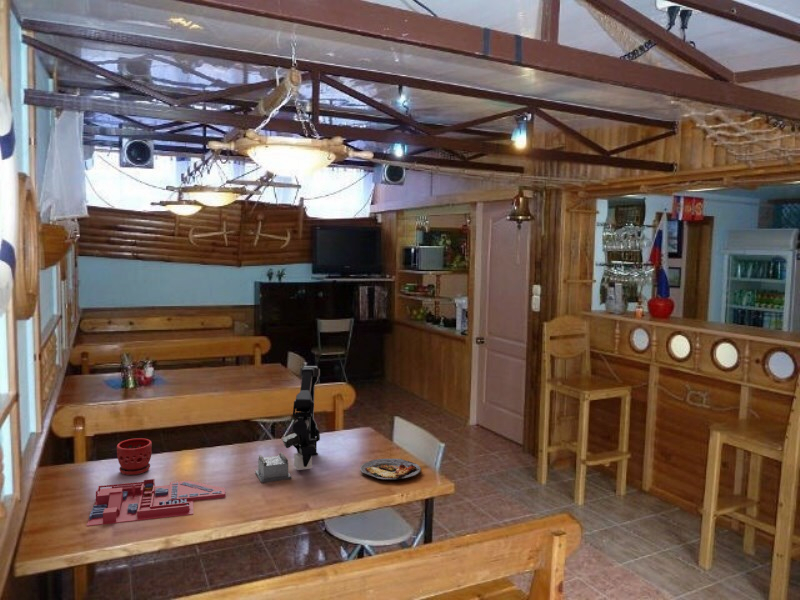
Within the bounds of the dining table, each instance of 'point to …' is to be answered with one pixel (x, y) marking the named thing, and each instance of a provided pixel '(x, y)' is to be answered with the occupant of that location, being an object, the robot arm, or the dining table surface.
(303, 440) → the robot arm
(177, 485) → the red architectural model
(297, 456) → the plain white cube
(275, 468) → the motor housing
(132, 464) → the plant pot
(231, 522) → the dining table surface
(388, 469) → the food plate
